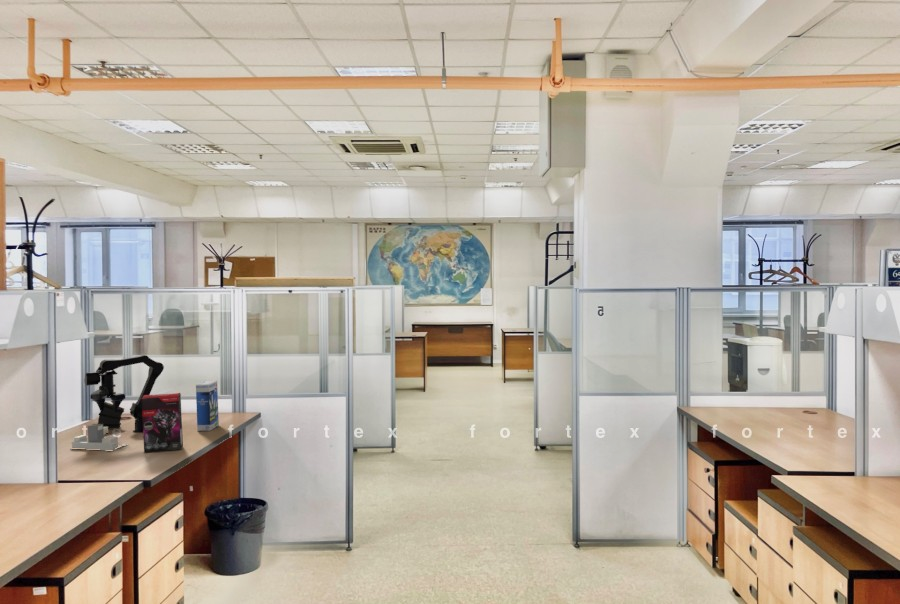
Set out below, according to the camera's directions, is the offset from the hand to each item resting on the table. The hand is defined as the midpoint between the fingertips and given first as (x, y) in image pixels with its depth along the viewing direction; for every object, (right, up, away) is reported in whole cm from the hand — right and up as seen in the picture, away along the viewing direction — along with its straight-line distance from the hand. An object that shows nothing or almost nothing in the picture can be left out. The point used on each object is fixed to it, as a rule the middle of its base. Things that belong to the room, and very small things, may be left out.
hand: (108, 412), depth 329 cm
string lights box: (+47, -12, +15) cm, 51 cm away
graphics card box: (+42, -14, -28) cm, 52 cm away
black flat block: (-9, -13, +18) cm, 24 cm away
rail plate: (+7, -14, -21) cm, 26 cm away
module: (+5, -14, -20) cm, 25 cm away
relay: (-7, -13, +5) cm, 16 cm away
